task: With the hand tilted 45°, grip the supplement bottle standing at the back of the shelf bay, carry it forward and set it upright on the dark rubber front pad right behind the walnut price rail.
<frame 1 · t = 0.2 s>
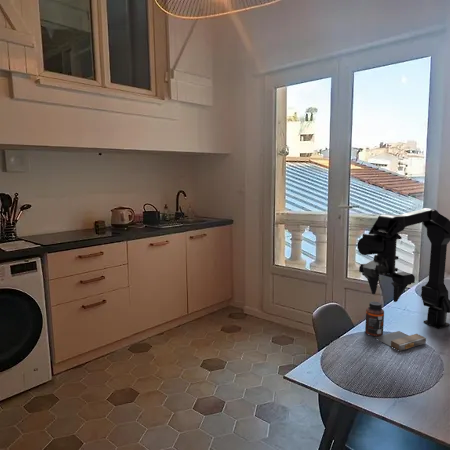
hand: (384, 297, 128), 15 cm above the table, tool pointing down, fingers open, 9 cm apart
supplement bottle: (373, 333, 134), on the table
price rail: (407, 345, 125), on the table
front pad: (395, 339, 130), on the table
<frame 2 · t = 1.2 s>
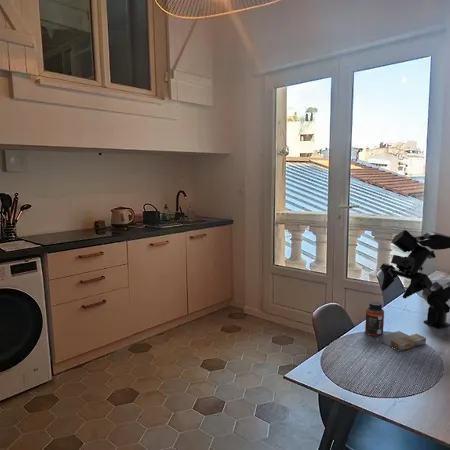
hand: (392, 293, 135), 13 cm above the table, tool tilted 45°, fingers open, 9 cm apart
nothing on the table moved.
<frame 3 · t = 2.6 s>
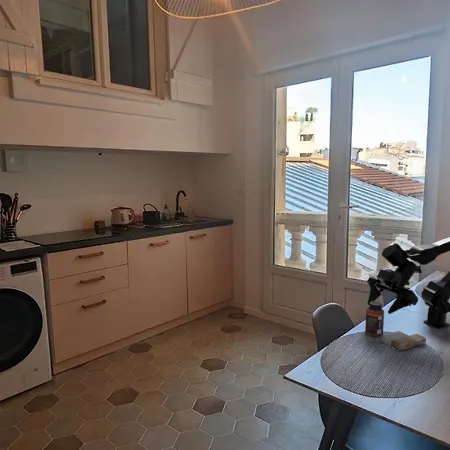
hand: (378, 308, 134), 9 cm above the table, tool tilted 45°, fingers open, 9 cm apart
nothing on the table moved.
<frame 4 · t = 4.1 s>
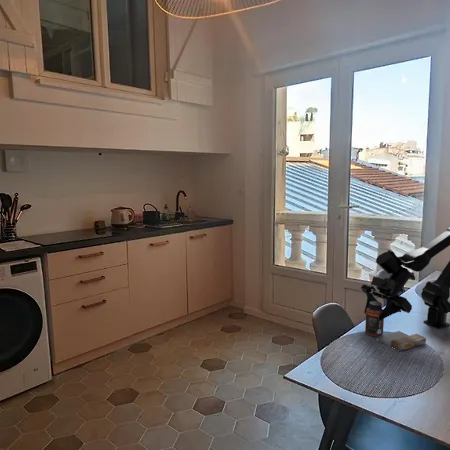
hand: (371, 316, 133), 7 cm above the table, tool tilted 45°, fingers closed on supplement bottle, 6 cm apart
supplement bottle: (373, 333, 134), on the table, touching gripper
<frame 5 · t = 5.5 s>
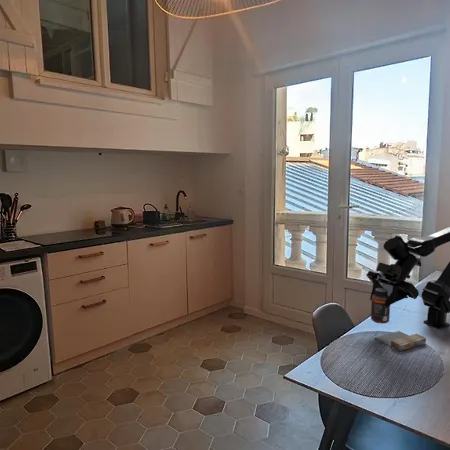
hand: (377, 303, 130), 12 cm above the table, tool tilted 45°, fingers closed on supplement bottle, 6 cm apart
supplement bottle: (379, 321, 132), point 5 cm above the table, touching gripper
when the fingers open (8 cm above the table, at t = 7.4 s): supplement bottle stays where it is, resting on front pad.
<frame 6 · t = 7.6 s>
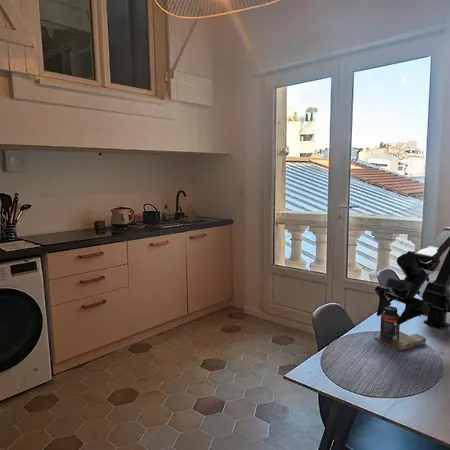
hand: (387, 319, 127), 8 cm above the table, tool tilted 45°, fingers open, 8 cm apart
supplement bottle: (389, 340, 128), resting on front pad
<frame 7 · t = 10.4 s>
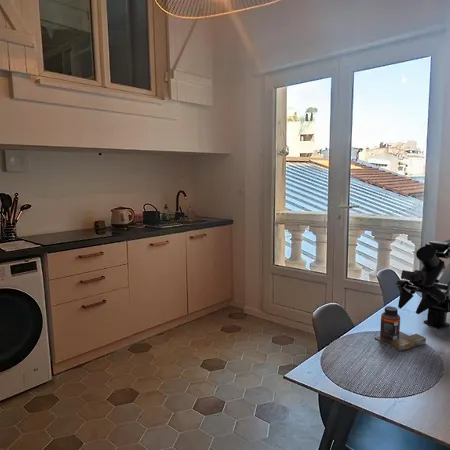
hand: (407, 310, 131), 9 cm above the table, tool tilted 40°, fingers open, 9 cm apart
nothing on the table moved.
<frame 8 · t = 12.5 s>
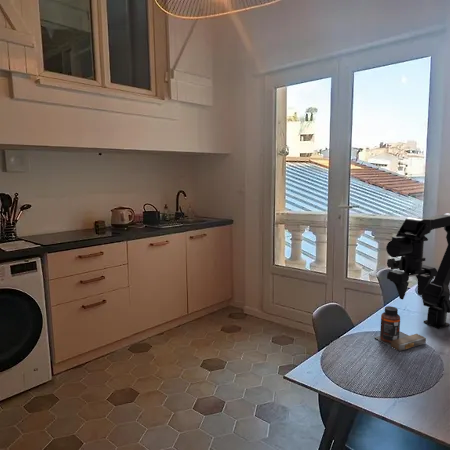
hand: (410, 297, 133), 13 cm above the table, tool pointing down, fingers open, 9 cm apart
nothing on the table moved.
at the end: supplement bottle 0.3 cm from the target spot, resting on front pad; supplement bottle tilted 0°; the gripper is holding nothing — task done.
